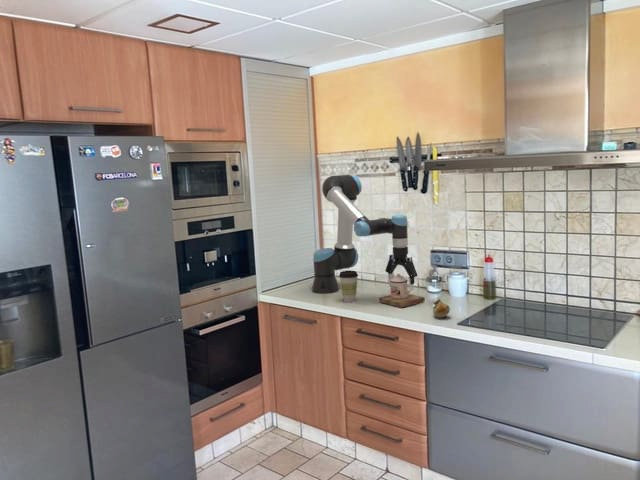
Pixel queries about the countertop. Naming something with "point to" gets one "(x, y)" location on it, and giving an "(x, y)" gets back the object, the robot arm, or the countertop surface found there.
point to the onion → (440, 309)
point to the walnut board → (402, 300)
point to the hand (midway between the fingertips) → (401, 288)
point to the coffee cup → (348, 285)
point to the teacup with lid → (399, 287)
